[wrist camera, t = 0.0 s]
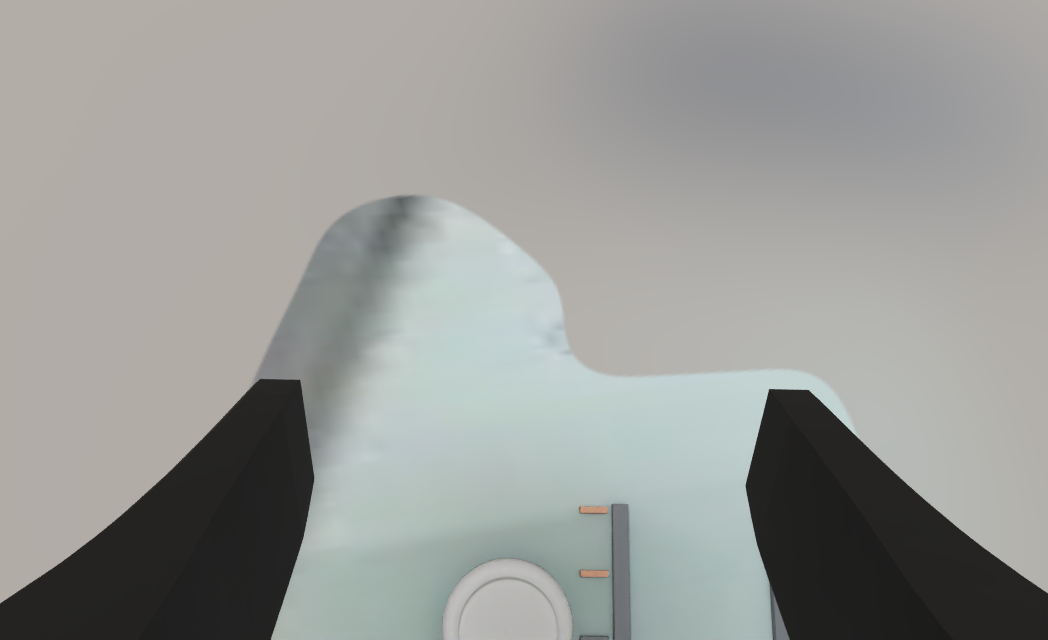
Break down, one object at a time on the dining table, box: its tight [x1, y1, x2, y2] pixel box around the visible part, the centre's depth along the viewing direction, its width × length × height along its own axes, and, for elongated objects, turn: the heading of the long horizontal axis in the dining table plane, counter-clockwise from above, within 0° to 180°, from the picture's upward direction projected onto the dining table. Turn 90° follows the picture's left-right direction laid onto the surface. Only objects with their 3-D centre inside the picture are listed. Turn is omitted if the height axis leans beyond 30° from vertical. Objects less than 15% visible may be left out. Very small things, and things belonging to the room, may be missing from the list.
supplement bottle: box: [442, 558, 573, 640], centre depth 38 cm, size 6×6×10 cm
